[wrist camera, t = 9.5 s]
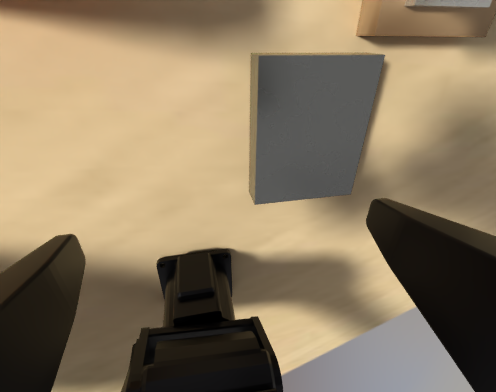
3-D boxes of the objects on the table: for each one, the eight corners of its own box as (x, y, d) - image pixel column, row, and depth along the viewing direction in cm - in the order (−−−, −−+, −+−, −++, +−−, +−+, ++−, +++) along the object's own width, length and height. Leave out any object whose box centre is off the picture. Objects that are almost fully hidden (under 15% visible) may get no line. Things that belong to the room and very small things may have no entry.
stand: (338, 182, 23) (350, 194, 22) (249, 191, 22) (254, 204, 20) (366, 52, 18) (384, 54, 16) (250, 53, 17) (258, 55, 15)
